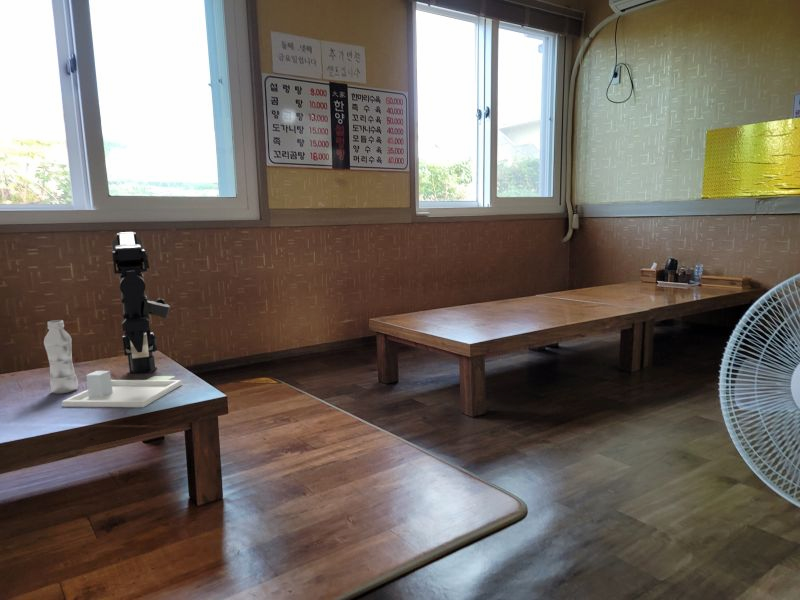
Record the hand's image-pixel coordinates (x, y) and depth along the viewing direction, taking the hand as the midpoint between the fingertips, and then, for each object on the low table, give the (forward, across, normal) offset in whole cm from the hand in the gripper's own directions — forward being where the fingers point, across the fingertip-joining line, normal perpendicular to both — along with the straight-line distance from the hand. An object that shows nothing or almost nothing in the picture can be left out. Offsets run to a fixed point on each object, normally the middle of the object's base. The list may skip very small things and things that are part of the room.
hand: (139, 350), depth 149 cm
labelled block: (+2, 0, 0) cm, 2 cm away
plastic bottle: (+12, +10, +20) cm, 25 cm away
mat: (+11, +8, -4) cm, 14 cm away
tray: (+11, -4, +5) cm, 13 cm away
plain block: (+11, 0, +10) cm, 15 cm away
